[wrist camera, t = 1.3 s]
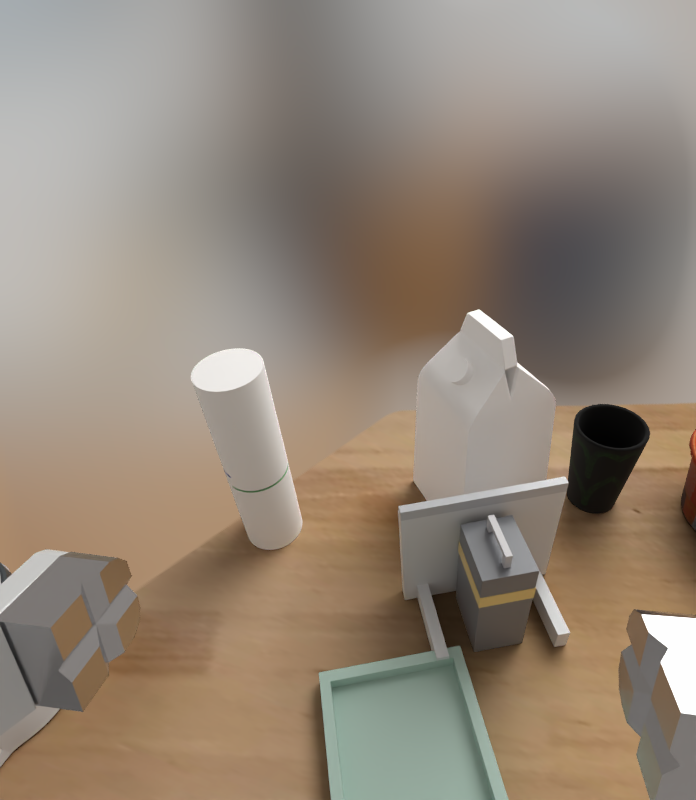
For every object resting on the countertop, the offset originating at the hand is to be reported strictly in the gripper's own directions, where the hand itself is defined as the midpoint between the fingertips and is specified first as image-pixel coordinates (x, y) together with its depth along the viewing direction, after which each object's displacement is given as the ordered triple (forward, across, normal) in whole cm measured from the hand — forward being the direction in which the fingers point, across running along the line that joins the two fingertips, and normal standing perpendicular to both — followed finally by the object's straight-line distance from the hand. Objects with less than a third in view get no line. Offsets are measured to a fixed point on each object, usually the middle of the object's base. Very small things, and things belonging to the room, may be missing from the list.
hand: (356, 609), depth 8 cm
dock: (+36, +6, -37) cm, 52 cm away
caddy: (+36, +6, -38) cm, 52 cm away
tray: (+24, -2, -41) cm, 47 cm away
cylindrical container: (+45, -21, -35) cm, 61 cm away
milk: (+52, +4, -33) cm, 62 cm away
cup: (+54, +19, -33) cm, 66 cm away
